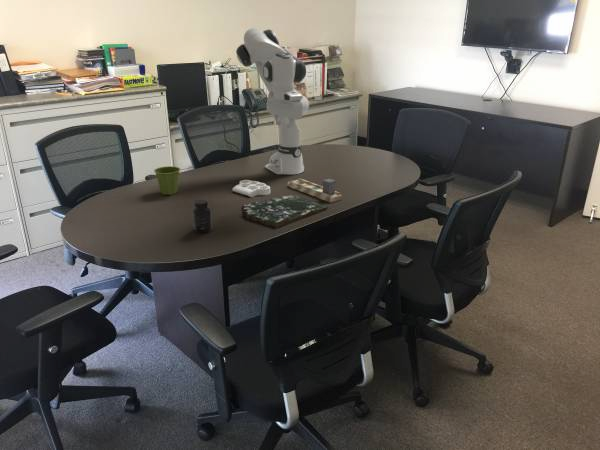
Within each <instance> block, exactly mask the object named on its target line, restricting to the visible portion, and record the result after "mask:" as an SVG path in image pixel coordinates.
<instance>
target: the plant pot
mask: <svg viewBox="0 0 600 450" xmlns="http://www.w3.org/2000/svg"><path fill="white" fill-rule="evenodd" d="M180 171H181V168H180V167H178V166H159V167H158V168H155V169H154V170H153V172H154V173H155V175H156V176H155V177H156V178H157V181H158V185H159V188H160V192H161V194H162V195H165V196H166V195H168V196H172V195H175V194H177V193H178V187H179V186H178V185H179V184H178V183H179V175H180Z"/></svg>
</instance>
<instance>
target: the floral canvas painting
mask: <svg viewBox="0 0 600 450" xmlns="http://www.w3.org/2000/svg"><path fill="white" fill-rule="evenodd" d="M328 208H329V207H328V206H326V205H323V204H321V203H319V202H315V201H313V200H310V199H307V198H303V197H301V196H298V195H295V194H291V193H290V194H288V195H282V196H278V197H275V198H270V199H267V200H263V201H255V202H251V203H247V204H244V205H241V209H242V210H243V211H242V212H241V216H242V217H245V219H246V220H247V221H252V222H256V223H260V224H262V225H265V226H266V227H273V228H275V229H278V228H280V227H283V226H285V225H288V224H291V223H294V222H297V221H300V220H302V219H305V218H308V217H310V216H312V215H316V214H318V213H321V212H324V211H326V210H328Z"/></svg>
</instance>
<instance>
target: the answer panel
mask: <svg viewBox="0 0 600 450" xmlns="http://www.w3.org/2000/svg"><path fill="white" fill-rule="evenodd" d="M287 187H289V188H291V189H294V190H297V191H299V192H301V193H305V194H306V195H308V196H309V195H310V196H312V197H314V196H315V197H314V198H318V199H320V200H322V201H325V202H327V203H334V202H337V201H341V200H343V199H342V198H343V195H342V194H341V192H338V191H336V190H335V193H334V194H331V195H328V194H326V193H323V185H320V184H316V183H314V182H312V181H308V180H306V179H303V178H300V177H299V178H298V179H296V180H289V181H288V182H287Z"/></svg>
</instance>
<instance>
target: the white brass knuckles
mask: <svg viewBox="0 0 600 450" xmlns="http://www.w3.org/2000/svg"><path fill="white" fill-rule="evenodd" d="M238 183H239V184H237V185H235V186H234V187H232V191H233V193H234V192H235V193H238V194H241V195H244V196H246V197H247V196H248V197H250V198H254V197H255V196H268V195H270V194H271V186H270V185H267V184H266V183H264V182H259V180H258V181H256V180H250V179H244V180H240V181H239V182H238Z"/></svg>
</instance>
